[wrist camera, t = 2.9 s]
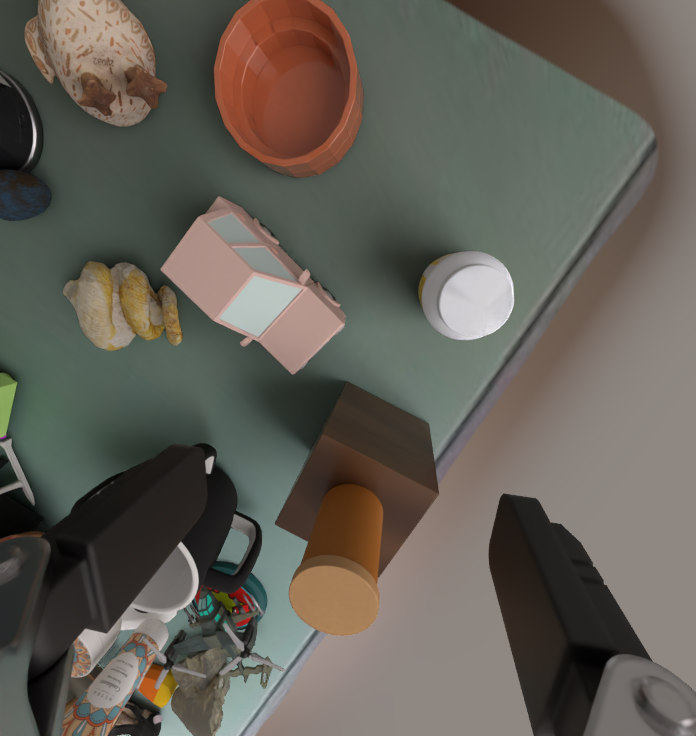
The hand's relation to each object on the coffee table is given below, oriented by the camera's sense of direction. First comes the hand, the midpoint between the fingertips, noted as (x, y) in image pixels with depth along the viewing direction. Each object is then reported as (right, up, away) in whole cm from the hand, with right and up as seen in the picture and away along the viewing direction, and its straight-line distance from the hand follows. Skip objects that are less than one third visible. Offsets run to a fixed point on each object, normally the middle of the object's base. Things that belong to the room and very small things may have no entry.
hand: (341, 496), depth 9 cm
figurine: (-17, +24, +18) cm, 35 cm away
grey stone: (-22, -43, +46) cm, 67 cm away
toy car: (-7, +12, +27) cm, 30 cm away
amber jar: (0, -8, +19) cm, 21 cm away
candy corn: (-28, -49, +48) cm, 74 cm away
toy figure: (-38, -54, +53) cm, 84 cm away
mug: (-18, -12, +36) cm, 42 cm away
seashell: (-23, +10, +30) cm, 39 cm away
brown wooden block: (+2, -4, +30) cm, 31 cm away
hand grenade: (-29, +21, +25) cm, 44 cm away
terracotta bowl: (-4, +26, +22) cm, 34 cm away
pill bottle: (+10, +11, +24) cm, 29 cm away
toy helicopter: (-16, -30, +42) cm, 54 cm away
